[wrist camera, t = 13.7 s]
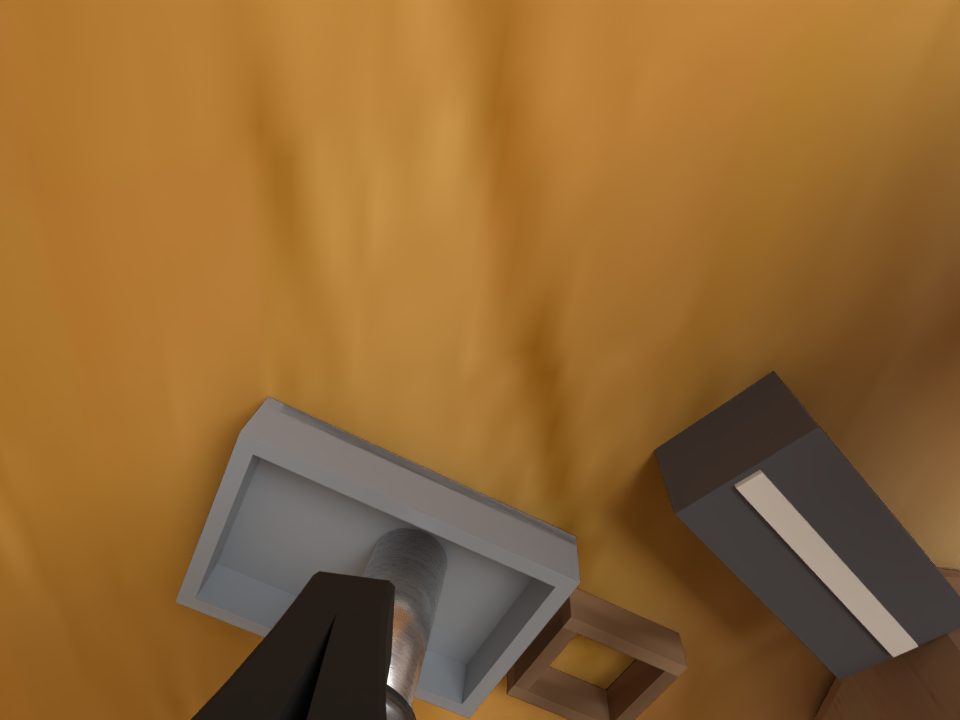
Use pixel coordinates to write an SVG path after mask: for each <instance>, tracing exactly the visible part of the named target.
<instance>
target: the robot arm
mask: <svg viewBox="0 0 960 720" xmlns="http://www.w3.org/2000/svg"><path fill="white" fill-rule="evenodd" d="M394 599H395V586H394V585H393V584H392V583H391V582H390V581H389V580H382V579H375V578H367V577H360V576H352V575H345V574H337V573H330V572H322V571H319V572H317V573H316V574H314V575H313V576H312V577H311V579H310V580H309V581H308V583H307V584H306V586H305V587H304V588H303V590H302V591H301V592H300V594H299V595H298V596H297V598H296V599H295V600H294V602H293V603H292V604H291V606H290V607H289V608H288V609H287V611H286V612H285V613H284V615H283V616H282V617H281V618H280V620H279V621H278V622H277V623H276V624H275V626H274V627H273V628H272V629H271V631H270V632H269V633H268V634H267V635H266V637H265V638H264V639H263V640H262V642H261V643H260V644H259V645H258V646H257V647H256V648H255V650H254V651H253V652H252V653H251V654H250V655H249V657H248V658H247V659H246V660H245V661H244V662H243V663H242V665H241V666H240V667H239V668H238V669H237V670H236V672H235V673H234V674H233V675H232V676H231V677H230V678H229V679H228V681H227V682H226V683H225V684H224V685H223V686H222V687H221V688H220V689H219V690H218V692H217V693H216V694H215V695H214V696H213V697H212V698H211V699H210V700H209V701H208V702H207V703H206V704H205V705H204V706H203V707H202V708H201V709H200V710H199V712H198V713H197V714H196V715H195V716H194V717H193V718H192V719H191V720H387V714H386V688H387V680H388V675H389V669H390V663H391V656H392V637H393V618H394Z"/></svg>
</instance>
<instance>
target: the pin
mask: <svg viewBox="0 0 960 720" xmlns="http://www.w3.org/2000/svg"><path fill="white" fill-rule="evenodd" d="M447 567H448V560H447V555H446V553H445V551H444V549H443V547H442V546H441V545H440V543H439V542H438V541H437V540H436V539H434V538H433V537H432V536H430V535H429V534H427V533H425V532H422V531H419V530H416V529H410V528H401V529H395V530H392V531H390V532H388V533H386V534H384V535H383V536H382V537H381V538H380V539H379V540H378V542H377V543H376V545H375V548H374V550H373V552H372V554H371V557H370V559H369V561H368V564H367V566H366V568H365V570H364V573H363V575H362V577H367V578H375V579H382V580H389V581H390V582H391V583H392V584H393V585H394V586H395V599H394V618H393V637H392V656H391V663H390V669H389V675H388V680H387V688H386V714H387V720H416V717H415V714H414V712H413V710H412V704H413V700H414V696H415V692H416V689H417V685H418V681H419V677H420V673H421V669H422V665H423V661H424V657H425V653H426V650H427V646H428V642H429V638H430V634H431V630H432V626H433V622H434V618H435V614H436V611H437V607H438V603H439V599H440V595H441V591H442V587H443V583H444V579H445V575H446V571H447Z"/></svg>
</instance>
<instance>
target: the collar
mask: <svg viewBox="0 0 960 720" xmlns="http://www.w3.org/2000/svg"><path fill="white" fill-rule="evenodd" d="M577 633H578V634H580V635H583V636H585V637H587V638H590V639H592V640H594V641H596V642H599V643H601V644H603V645H606V646H608V647H610V648H613V649H615V650H617V651H620V652H622V653H624V654H627V655H629V656H631V657H634V658H636V660H635V661H634V662H633V663H632V664H631V665H630V666H629V667H628V668H627V669H626V670H625V672H624V673H623V674H622V675H621V676H620V677H619V678H618V679H617V680H616V681H615V682H614V683H613V684H612V685H611V686H610V687H609V688H608V689H607V690H604V689H601V688H599V687H597V686H594V685H592V684H589V683H587V682H585V681H582V680H580V679H577V678H575V677H573V676H570V675H568V674H565V673H563V672H561V671H558V670H556V669H553V668H551V667H549V665H550V664H551V663H552V662H553V661H554V660H555V658H556V657H557V656H558V655H559V654H560V653H561V651H562V650H563V649H564V648H565V647H566V646H567V644H568V643H569V642H570V641H571V640H572V639H573V637H574V636H575V635H576V634H577ZM687 668H688V665H687V662H686V658H685V654H684V650H683V646H682V643H681V639H680V635H679V633H676V632H674V631H672V630H670V629H667V628H665V627H663V626H661V625H658V624H656V623H654V622H651V621H649V620H647V619H645V618H642V617H640V616H638V615H636V614H633V613H631V612H629V611H627V610H624V609H622V608H620V607H617V606H615V605H613V604H611V603H608V602H606V601H604V600H602V599H599V598H597V597H595V596H593V595H590V594H588V593H586V592H583V591H581V590H579V589H577V588H576V589H575V590H574V591H573V592H572V593H571V595H570V596H569V597H568V598H567V600H566V601H565V602H564V603H563V604H562V606H561V607H560V608H559V609H558V611H557V612H556V613H555V614H554V615H553V617H552V618H551V619H550V620H549V622H548V623H547V624H546V625H545V626H544V628H543V629H542V630H541V631H540V633H539V634H538V635H537V636H536V637H535V639H534V640H533V641H532V642H531V644H530V645H529V646H528V647H527V648H526V650H525V651H524V652H523V653H522V655H521V656H520V657H519V658H518V659H517V661H516V662H515V663H514V664H513V666H512V667H511V668H510V669H509V671H508V672H507V695H510V696H512V697H515V698H517V699H520V700H522V701H525V702H527V703H530V704H532V705H535V706H537V707H539V708H542V709H544V710H547V711H549V712H552V713H554V714H557V715H559V716H562V717H564V718H567V719H569V720H635V719H636V718H637V717H638V716H639V715H640V714H641V713H642V712H643V711H644V710H645V709H646V708H647V707H648V706H649V705H650V704H651V703H652V702H653V701H654V700H655V699H656V698H657V697H658V696H659V695H660V694H661V693H662V692H663V691H664V690H666V689H667V688H668V687H669V686H670V685H671V684H672V683H673V682H674V681H675V680H676V679H677V678H678V677H679V676H680V675H681V674H682V673H683V672H684V671H685V670H686V669H687Z"/></svg>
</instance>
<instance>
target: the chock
mask: <svg viewBox="0 0 960 720" xmlns="http://www.w3.org/2000/svg"><path fill="white" fill-rule="evenodd" d="M654 451H655V454H656V457H657V460H658V464H659V467H660V470H661V473H662V476H663V479H664V482H665V486H666V489H667V492H668V495H669V498H670V501H671V504H672V507H673V511H674V514H675V515H676V516H677V517H678V518H679V519H680V520H681V521H682V522H683V523H684V524H685V525H686V526H687V527H688V528H689V529H690V530H691V531H692V532H693V533H694V534H695V535H696V536H697V537H698V538H699V539H700V540H701V541H702V542H703V543H704V544H705V545H706V546H707V547H708V548H709V549H710V550H711V551H712V552H713V553H714V554H715V555H716V556H717V557H718V558H719V559H720V560H721V561H722V562H723V563H724V564H725V565H726V566H727V567H728V568H729V569H730V570H731V571H732V572H733V573H734V574H735V575H736V576H737V577H738V578H739V579H740V580H741V581H742V583H743V584H744V585H745V586H746V587H747V588H748V589H749V590H750V591H751V592H752V593H753V594H754V595H755V596H756V597H757V598H758V599H759V600H760V601H761V602H762V603H763V604H764V605H765V606H766V607H767V608H768V609H769V610H770V611H771V612H772V613H773V614H774V615H775V616H776V617H777V618H778V619H779V620H780V621H781V622H782V623H783V624H784V625H785V626H786V627H787V628H788V629H789V630H790V631H791V632H792V633H793V634H794V635H795V636H796V637H797V638H798V639H799V640H800V641H801V642H802V643H803V644H804V645H805V646H806V647H807V648H808V649H809V650H810V651H811V652H812V653H813V654H814V655H815V656H816V657H817V658H818V659H819V660H820V661H821V662H822V663H823V664H824V665H825V666H826V667H827V668H828V669H829V670H830V671H831V672H832V673H833V674H834V675H835V676H836V677H837V678H838V679H839V680H842V679H845V678H847V677H849V676H851V675H854V674H856V673H858V672H860V671H863V670H865V669H867V668H870V667H872V666H874V665H876V664H879V663H881V662H883V661H886V660H888V659H890V658H892V657H896V656H898V655H900V654H903V653H905V652H907V651H909V650H912V649H914V648H916V647H918V646H920V645H922V644H924V643H927V642H929V641H931V640H933V639H936V638H938V637H940V636H943V635H945V634H947V633H949V632H952V631H954V630H956V629H959V628H960V596H959V594H958V593H957V592H956V591H955V589H954V588H953V587H952V586H951V584H950V583H949V582H948V581H947V580H946V578H945V577H944V576H943V575H942V573H941V572H940V571H939V570H938V568H937V567H936V566H935V565H934V564H933V562H932V561H931V560H930V559H929V557H928V556H927V555H926V554H925V552H924V551H923V550H922V549H921V547H920V546H919V545H918V544H917V543H916V541H915V540H914V539H913V538H912V537H911V535H910V534H909V533H908V532H907V531H906V529H905V528H904V527H903V526H902V525H901V523H900V522H899V521H898V520H897V519H896V517H895V516H894V515H893V514H892V513H891V511H890V510H889V509H888V508H887V507H886V505H885V504H884V503H883V502H882V501H881V499H880V498H879V497H878V496H877V495H876V493H875V492H874V491H873V490H872V489H871V487H870V486H869V485H868V484H867V483H866V481H865V480H864V479H863V478H862V477H861V475H860V474H859V473H858V472H857V471H856V469H855V468H854V467H853V466H852V465H851V463H850V462H849V461H848V460H847V459H846V457H845V456H844V455H843V454H842V453H841V451H840V450H839V449H838V448H837V446H836V445H835V444H834V443H833V442H832V440H831V439H830V438H829V437H828V436H827V434H826V433H825V432H824V431H823V430H822V428H821V427H820V426H819V425H818V424H817V422H816V421H815V420H814V419H813V418H812V416H811V415H810V414H809V413H808V412H807V410H806V409H805V408H804V407H803V406H802V404H801V403H800V402H799V401H798V400H797V398H796V397H795V396H794V395H793V394H792V392H791V391H790V390H789V389H788V388H787V386H786V385H785V384H784V383H783V382H782V380H781V379H780V378H779V377H778V376H777V374H776V373H775V372H774V371H773V372H771V373H770V374H768V375H767V376H765V377H764V378H762V379H761V380H759V381H758V382H756V383H755V384H753V385H752V386H750V387H749V388H747V389H746V390H744V391H743V392H741V393H740V394H738V395H737V396H735V397H734V398H732V399H731V400H729V401H728V402H726V403H725V404H723V405H722V406H720V407H719V408H717V409H716V410H714V411H713V412H711V413H710V414H708V415H707V416H705V417H704V418H702V419H701V420H699V421H698V422H696V423H695V424H693V425H692V426H690V427H689V428H687V429H685V430H684V431H682V432H681V433H679V434H678V435H676V436H675V437H673V438H672V439H670V440H669V441H667V442H666V443H664V444H663V445H661V446H660V447H658V448H657V449H655V450H654Z"/></svg>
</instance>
